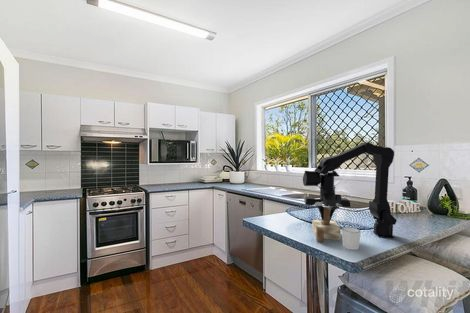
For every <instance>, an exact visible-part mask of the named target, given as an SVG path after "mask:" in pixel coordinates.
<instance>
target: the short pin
mask: <svg viewBox="0 0 470 313" xmlns="http://www.w3.org/2000/svg"><path fill="white" fill-rule="evenodd" d="M315 240H316V243H324V242H325V239H324V230H323V229H322V228H316V237H315Z"/></svg>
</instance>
